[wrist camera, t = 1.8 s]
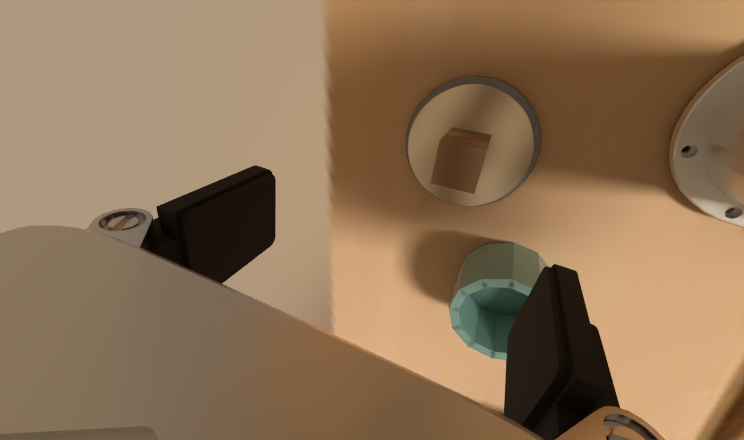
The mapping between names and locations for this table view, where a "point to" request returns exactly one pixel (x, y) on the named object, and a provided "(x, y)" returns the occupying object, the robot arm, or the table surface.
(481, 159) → the lid
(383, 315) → the table surface
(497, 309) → the bowl
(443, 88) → the mat
